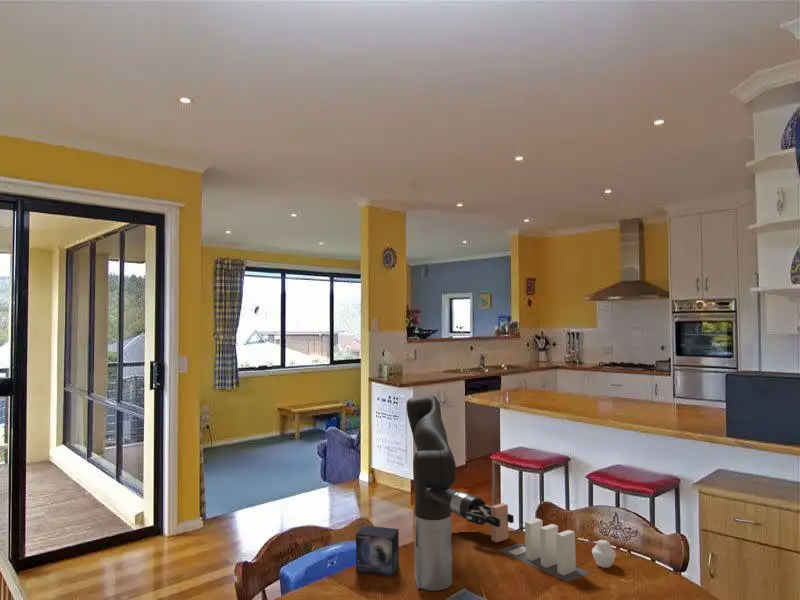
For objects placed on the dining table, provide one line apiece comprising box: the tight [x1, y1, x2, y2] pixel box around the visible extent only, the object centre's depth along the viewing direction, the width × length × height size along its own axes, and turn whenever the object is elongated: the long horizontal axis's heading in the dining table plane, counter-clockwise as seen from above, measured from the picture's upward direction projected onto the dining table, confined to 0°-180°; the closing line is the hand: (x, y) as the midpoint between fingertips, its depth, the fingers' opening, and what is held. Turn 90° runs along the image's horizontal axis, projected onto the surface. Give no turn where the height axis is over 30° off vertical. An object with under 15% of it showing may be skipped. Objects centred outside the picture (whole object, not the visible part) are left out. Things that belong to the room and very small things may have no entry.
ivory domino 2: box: [540, 523, 559, 568], centre depth 150 cm, size 2×5×10 cm, turn 125°
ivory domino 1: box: [524, 517, 544, 561], centre depth 155 cm, size 2×5×10 cm, turn 125°
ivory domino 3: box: [556, 529, 577, 575], centre depth 146 cm, size 2×5×10 cm, turn 125°
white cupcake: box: [591, 539, 617, 568], centre depth 150 cm, size 6×6×7 cm
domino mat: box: [498, 542, 591, 583], centre depth 152 cm, size 24×9×1 cm, turn 35°
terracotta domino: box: [490, 502, 509, 543], centre depth 166 cm, size 2×5×10 cm, turn 125°
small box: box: [355, 524, 400, 578], centre depth 149 cm, size 11×6×10 cm, turn 73°
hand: (506, 521), depth 164 cm, fingers closed on terracotta domino, 5 cm apart
